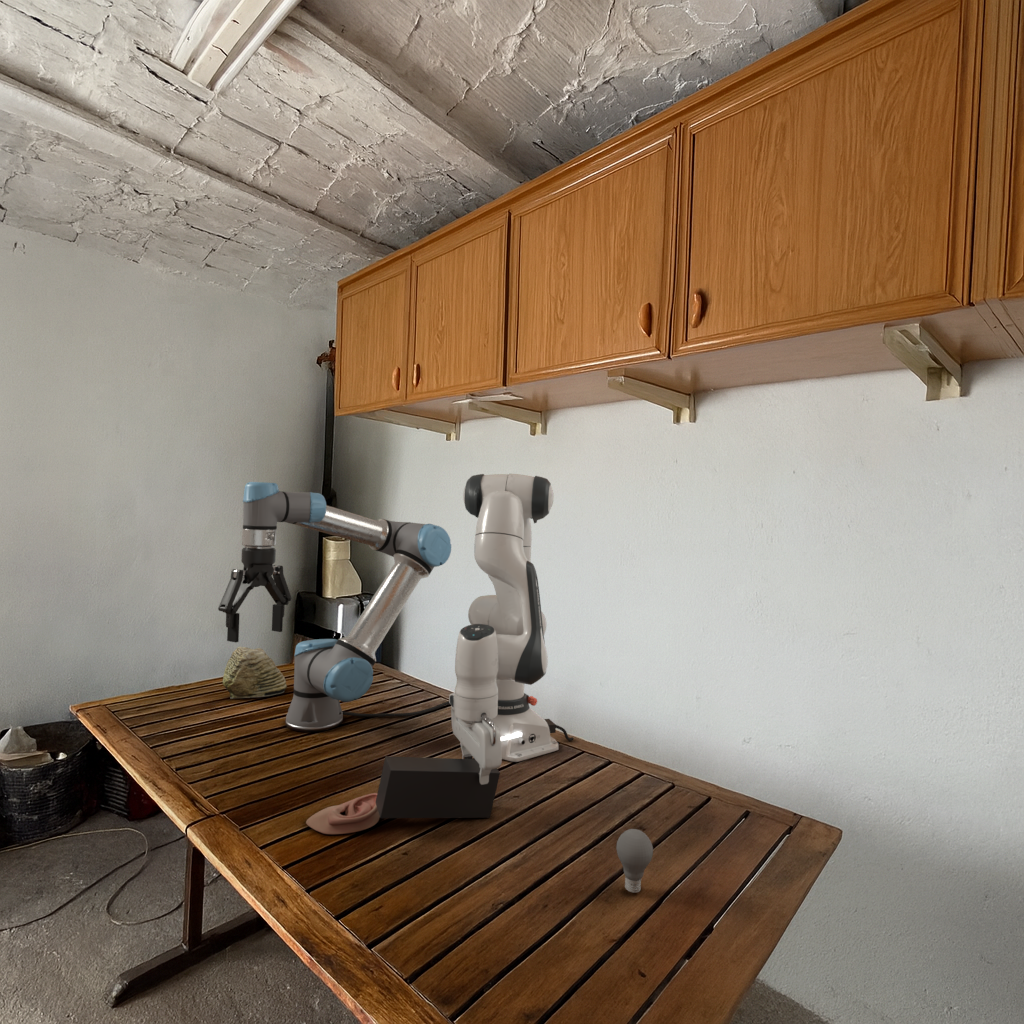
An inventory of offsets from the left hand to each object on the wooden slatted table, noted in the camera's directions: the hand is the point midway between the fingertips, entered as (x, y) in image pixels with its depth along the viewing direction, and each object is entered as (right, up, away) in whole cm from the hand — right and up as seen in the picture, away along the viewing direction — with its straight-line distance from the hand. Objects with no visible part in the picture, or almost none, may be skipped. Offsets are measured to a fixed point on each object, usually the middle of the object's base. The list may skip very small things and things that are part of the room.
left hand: (255, 636), depth 151 cm
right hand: (+53, -24, -21) cm, 62 cm away
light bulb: (+81, -34, -45) cm, 99 cm away
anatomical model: (+28, -31, -26) cm, 49 cm away
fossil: (-20, -28, +47) cm, 58 cm away
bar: (+45, -30, -24) cm, 59 cm away
